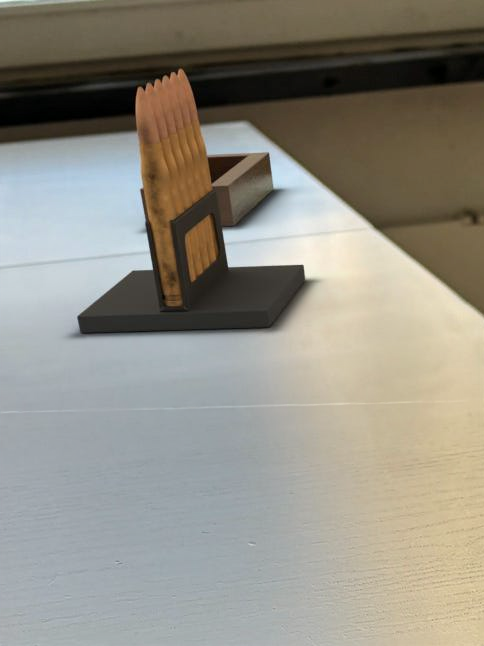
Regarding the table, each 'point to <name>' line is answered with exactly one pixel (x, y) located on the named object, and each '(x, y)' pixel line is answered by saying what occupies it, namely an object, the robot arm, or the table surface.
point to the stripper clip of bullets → (178, 195)
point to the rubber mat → (209, 313)
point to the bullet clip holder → (236, 183)
